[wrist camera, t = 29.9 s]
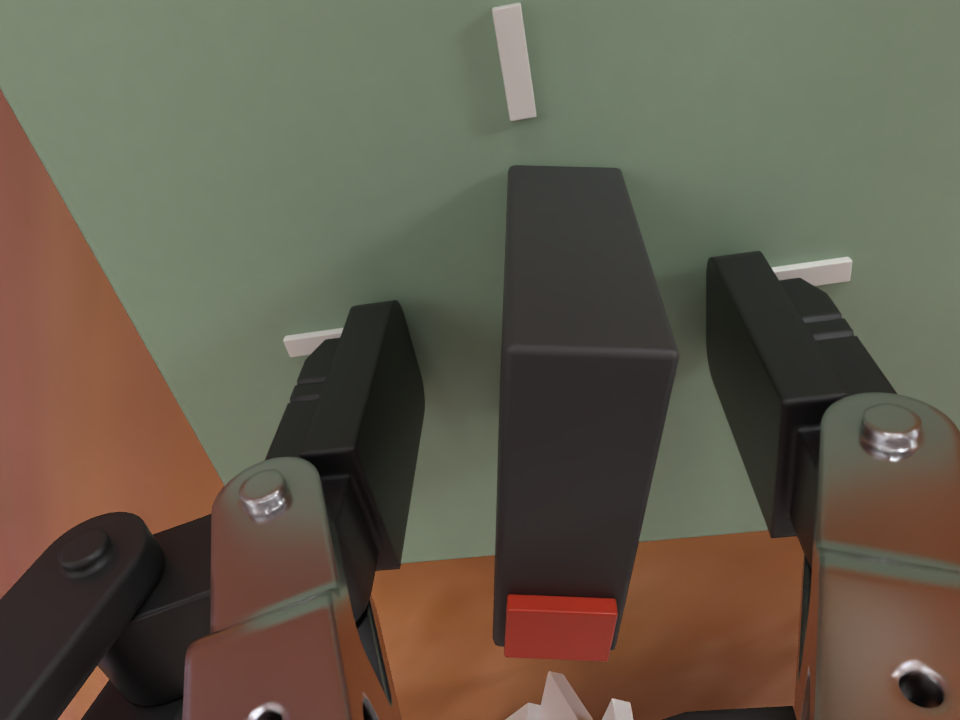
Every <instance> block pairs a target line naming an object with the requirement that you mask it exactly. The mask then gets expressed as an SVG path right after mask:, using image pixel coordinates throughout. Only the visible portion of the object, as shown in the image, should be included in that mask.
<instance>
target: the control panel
mask: <svg viewBox="0 0 960 720" xmlns="http://www.w3.org/2000/svg"><path fill="white" fill-rule="evenodd" d="M0 89H1V91H2V93H3V94H4V96H5V98H6V100H7V101H8V103H9V105H10V107H11V109H12V110H13V112H14V114H15V116H16V117H17V119H18V121H19V123H20V124H21V126H22V128H23V130H24V132H25V133H26V135H27V137H28V139H29V140H30V142H31V144H32V146H33V147H34V149H35V151H36V153H37V155H38V156H39V158H40V160H41V162H42V163H43V165H44V167H45V169H46V170H47V172H48V174H49V176H50V178H51V179H52V181H53V183H54V185H55V186H56V188H57V190H58V192H59V193H60V195H61V197H62V199H63V201H64V202H65V204H66V206H67V208H68V209H69V211H70V213H71V215H72V216H73V218H74V220H75V222H76V223H77V225H78V227H79V229H80V231H81V232H82V234H83V236H84V238H85V239H86V241H87V243H88V245H89V246H90V248H91V250H92V252H93V254H94V255H95V257H96V259H97V261H98V262H99V264H100V266H101V268H102V269H103V271H104V273H105V275H106V277H107V278H108V280H109V282H110V284H111V285H112V287H113V289H114V291H115V292H116V294H117V296H118V298H119V300H120V301H121V303H122V305H123V307H124V308H125V310H126V312H127V314H128V315H129V317H130V319H131V321H132V323H133V324H134V326H135V328H136V330H137V331H138V333H139V335H140V337H141V338H142V340H143V342H144V344H145V346H146V347H147V349H148V351H149V353H150V354H151V356H152V358H153V360H154V361H155V363H156V365H157V367H158V369H159V370H160V372H161V374H162V376H163V377H164V379H165V381H166V383H167V384H168V386H169V388H170V390H171V392H172V393H173V395H174V397H175V399H176V400H177V402H178V404H179V406H180V407H181V409H182V411H183V413H184V415H185V416H186V418H187V420H188V422H189V423H190V425H191V427H192V429H193V430H194V432H195V434H196V436H197V437H198V439H199V441H200V443H201V445H202V446H203V448H204V450H205V452H206V453H207V455H208V457H209V459H210V460H211V462H212V464H213V466H214V468H215V469H216V471H217V473H218V475H219V476H220V478H221V480H222V482H223V483H224V485H226V484H227V483H228V482H229V481H230V480H231V479H232V478H234V477H235V476H236V475H237V474H239V473H240V472H242V471H243V470H245V469H247V468H249V467H250V466H252V465H254V464H257V463H259V462H262V461H265V458H266V456H267V453H268V451H269V448H270V446H271V443H272V441H273V439H274V436H275V434H276V431H277V429H278V426H279V424H280V421H281V419H282V416H283V414H284V411H285V409H286V406H287V404H288V403H290V396H291V394H292V392H293V389H294V387H295V385H297V379H298V377H299V374H300V372H301V369H302V367H303V364H304V362H305V360H306V359H307V358H308V357H309V355H310V354H311V353H312V352H313V351H314V350H315V349H316V348H317V347H318V346H319V345H320V344H321V343H322V342H323V341H324V340H325V339H333V338H340V336H341V334H342V331H343V328H344V325H345V322H346V319H347V317H348V314H349V311H350V309H351V307H352V306H355V305H363V304H370V303H377V302H384V301H392V300H397V301H398V302H399V303H400V305H401V307H402V309H403V312H404V316H405V319H406V323H407V326H408V330H409V333H410V337H411V340H412V344H413V347H414V351H415V354H416V358H417V361H418V365H419V368H420V372H421V376H422V380H423V386H424V394H425V413H424V419H423V426H422V432H421V438H420V445H419V451H418V457H417V464H416V470H415V476H414V483H413V489H412V495H411V502H410V508H409V514H408V521H407V527H406V533H405V540H404V546H403V552H402V559H401V564H403V563H414V562H425V561H436V560H447V559H458V558H469V557H480V556H491V555H495V538H496V502H497V465H498V429H499V399H500V372H501V345H502V318H503V291H504V264H505V237H506V210H507V183H508V170H509V168H510V167H511V166H514V165H527V166H565V167H603V168H618V169H620V170H621V171H622V175H623V178H624V181H625V184H626V187H627V190H628V194H629V197H630V200H631V203H632V206H633V209H634V213H635V216H636V219H637V222H638V225H639V228H640V231H641V235H642V238H643V241H644V244H645V247H646V250H647V254H648V257H649V260H650V263H651V266H652V269H653V273H654V276H655V279H656V282H657V285H658V288H659V292H660V295H661V298H662V301H663V304H664V307H665V311H666V314H667V317H668V320H669V323H670V326H671V329H672V333H673V336H674V339H675V342H676V345H677V348H678V352H679V355H680V356H679V361H678V365H677V370H676V374H675V379H674V383H673V388H672V392H671V397H670V402H669V406H668V411H667V415H666V420H665V424H664V429H663V433H662V438H661V442H660V447H659V452H658V456H657V461H656V465H655V470H654V474H653V479H652V483H651V488H650V493H649V497H648V502H647V506H646V511H645V515H644V520H643V524H642V529H641V533H640V538H639V542H645V541H656V540H667V539H678V538H689V537H700V536H711V535H722V534H733V533H744V532H755V531H766V530H768V528H767V525H766V523H765V520H764V517H763V515H762V512H761V509H760V507H759V504H758V501H757V499H756V496H755V493H754V491H753V488H752V485H751V483H750V480H749V477H748V474H747V472H746V469H745V466H744V464H743V461H742V458H741V456H740V453H739V450H738V448H737V445H736V442H735V440H734V437H733V434H732V432H731V429H730V426H729V424H728V421H727V418H726V416H725V413H724V410H723V408H722V405H721V402H720V400H719V397H718V394H717V392H716V389H715V386H714V384H713V381H712V378H711V374H710V370H709V365H708V359H707V350H706V269H707V262H708V259H709V258H710V257H716V256H723V255H730V254H738V253H745V252H752V251H761V252H762V254H763V255H764V257H765V258H766V260H767V262H768V263H769V265H770V266H771V268H772V270H773V271H774V273H775V275H776V276H777V278H778V280H786V279H793V278H802V279H803V280H805V281H807V282H808V283H810V284H812V285H813V286H815V287H817V288H819V289H820V290H822V291H824V292H825V293H827V294H828V295H829V297H830V298H831V300H832V301H833V303H834V304H835V305H836V307H837V308H838V310H839V311H840V313H841V314H842V319H843V318H845V320H846V321H847V323H848V324H849V325H850V327H851V328H852V330H853V331H854V336H857V337H858V338H859V340H860V341H861V343H862V344H863V345H864V347H865V348H866V350H867V351H868V352H869V354H870V355H871V357H872V358H873V360H874V361H875V362H876V364H877V365H878V367H879V368H880V370H881V371H882V372H883V374H884V375H885V377H886V378H887V380H888V381H889V382H890V384H891V385H892V387H893V388H894V390H895V391H896V392H897V394H899V395H904V396H908V397H912V398H914V399H917V400H920V401H923V402H925V403H927V404H929V405H932V406H933V407H935V408H937V409H938V410H940V411H941V412H943V413H944V414H945V415H947V416H948V417H949V418H950V419H951V420H952V421H953V422H954V423H955V425H956V426H957V428H958V429H959V431H960V0H0Z"/></svg>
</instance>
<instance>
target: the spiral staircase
mask: <svg viewBox="0 0 960 720" xmlns="http://www.w3.org/2000/svg"><path fill="white" fill-rule="evenodd" d="M738 709H739V708H738ZM505 720H593V719H592V717H591V715H590V714H589V712H588V711H587V709H586V708H585V706H584V705H583V703H582V702H581V700H580V699H579V697H578V696H577V694H576V693H575V691H574V690H573V688H572V687H571V685H570V684H569V682H568V681H567V679H566V678H565V676H564V674H561V673H556V672H552V671H548V675H547V679H546V684H545V688H544V693H543V697H542V702H541V705H537V704H533V703H527V704H526V705H524V706H523V707H522V708H520V709H519V710H517V711H516V712H515V713H513V714H512V715H511V716H509V717H508V718H507V719H505ZM602 720H633V714H632V709H631V704H630V702H626V701H622V700H618V699H613V698H612V699H611V701H610V703H609V706H608V708H607V710H606V712H605V714H604V716H603V718H602Z"/></svg>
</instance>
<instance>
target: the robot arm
mask: <svg viewBox="0 0 960 720" xmlns="http://www.w3.org/2000/svg"><path fill="white" fill-rule="evenodd" d="M706 350H707V359H708V365H709V370H710V374H711V378H712V381H713V384H714V386H715V389H716V392H717V394H718V397H719V400H720V402H721V405H722V408H723V410H724V413H725V416H726V418H727V421H728V424H729V426H730V429H731V432H732V434H733V437H734V440H735V442H736V445H737V448H738V450H739V453H740V456H741V458H742V461H743V464H744V466H745V469H746V472H747V474H748V477H749V480H750V483H751V485H752V488H753V491H754V493H755V496H756V499H757V501H758V504H759V507H760V509H761V512H762V515H763V517H764V520H765V523H766V525H767V528H768V531H769V533H770V536H771V538H779V537H790V536H797V537H798V539H799V542H800V544H801V546H802V549H803V551H804V561H803V569H802V580H801V598H800V616H799V634H798V652H797V670H796V688H795V703H794V709H793V706H784V707H766V708H748V709H729V710H711V711H693V712H684V713H681V714H678V715H675V716H672V717H669V718H666V719H663V720H960V431H959V429H958V428H957V426H956V425H955V423H954V422H953V421H952V420H951V419H950V418H949V417H948V416H947V415H945V414H944V413H943V412H941V411H940V410H938V409H937V408H935V407H933V406H932V405H929V404H927V403H925V402H923V401H920V400H917V399H914V398H912V397H908V396H904V395H899V394H897V392H896V391H895V390H894V388H893V387H892V385H891V384H890V382H889V381H888V380H887V378H886V377H885V375H884V374H883V372H882V371H881V370H880V368H879V367H878V365H877V364H876V362H875V361H874V360H873V358H872V357H871V355H870V354H869V352H868V351H867V350H866V348H865V347H864V345H863V344H862V343H861V341H860V340H859V338H858V337H857V336H854V331H853V330H852V328H851V327H850V325H849V324H848V323H847V321H846V320H845V318H843V319H842V314H841V313H840V311H839V310H838V308H837V307H836V305H835V304H834V303H833V301H832V300H831V298H830V297H829V295H828V294H827V293H825V292H824V291H822V290H820V289H819V288H817V287H815V286H813V285H812V284H810V283H808V282H807V281H805V280H803V279H802V278H793V279H786V280H778V278H777V276H776V275H775V273H774V271H773V270H772V268H771V266H770V265H769V263H768V262H767V260H766V258H765V257H764V255H763V254H762V252H761V251H752V252H745V253H738V254H730V255H723V256H716V257H710V258H709V259H708V262H707V269H706ZM424 413H425V394H424V386H423V380H422V376H421V372H420V368H419V365H418V361H417V358H416V354H415V351H414V347H413V344H412V340H411V337H410V333H409V330H408V326H407V323H406V319H405V316H404V312H403V309H402V307H401V305H400V303H399V302H398V301H397V300H392V301H384V302H377V303H370V304H363V305H355V306H352V307H351V309H350V311H349V314H348V317H347V319H346V322H345V325H344V328H343V331H342V334H341V336H340V338H333V339H325V340H324V341H323V342H322V343H321V344H320V345H319V346H318V347H317V348H316V349H315V350H314V351H313V352H312V353H311V354H310V355H309V357H308V358H307V359H306V360H305V362H304V364H303V367H302V369H301V372H300V374H299V377H298V379H297V385H295V387H294V389H293V392H292V394H291V396H290V403H288V404H287V406H286V409H285V411H284V414H283V416H282V419H281V421H280V424H279V426H278V429H277V431H276V434H275V436H274V439H273V441H272V443H271V446H270V448H269V451H268V453H267V456H266V458H265V461H262V462H259V463H257V464H254V465H252V466H250V467H249V468H247V469H245V470H243V471H242V472H240V473H239V474H237V475H236V476H235V477H234V478H232V479H231V480H230V481H229V482H228V483H227V484H226V485H225V486H224V487H223V488H222V490H221V491H220V492H219V494H218V496H217V497H216V499H215V501H214V504H213V507H212V513H211V514H209V515H207V516H204V517H202V518H199V519H196V520H194V521H191V522H188V523H185V524H182V525H179V526H176V527H173V528H171V529H168V530H165V531H162V532H159V533H156V534H153V535H152V533H151V532H150V530H149V529H148V527H147V526H146V524H145V523H144V521H143V520H142V519H141V518H140V517H139V516H137V515H135V514H132V513H127V512H114V513H107V514H103V515H100V516H97V517H94V518H91V519H89V520H87V521H85V522H82V523H80V524H79V525H77V526H75V527H73V528H72V529H70V530H69V531H67V532H66V533H64V534H63V535H62V536H60V537H59V538H58V539H57V540H56V541H54V542H53V543H52V544H51V545H50V546H49V547H48V548H47V549H46V550H45V551H44V553H43V554H42V555H41V556H40V557H39V558H38V559H37V560H36V561H35V562H34V563H33V565H32V566H31V567H30V568H29V569H28V570H27V571H26V572H25V573H24V574H23V575H22V577H21V578H20V579H19V580H18V581H17V582H16V583H15V584H14V585H13V586H12V588H11V589H10V590H9V591H8V592H7V593H6V594H5V595H4V596H3V597H2V598H1V600H0V720H58V718H59V717H60V715H61V714H62V713H63V711H64V710H65V709H66V707H67V706H68V705H69V703H70V702H71V700H72V699H73V698H74V696H75V695H76V694H77V692H78V691H79V690H80V688H81V687H82V686H83V684H84V683H85V681H86V680H87V679H88V677H89V676H90V675H91V673H92V672H93V671H94V669H95V668H96V666H98V667H99V668H100V669H101V670H102V671H103V673H104V674H105V675H106V676H107V677H108V678H109V679H110V680H109V681H108V682H107V684H106V685H105V687H104V688H103V689H102V691H101V692H100V694H99V695H98V696H97V698H96V699H95V701H94V702H93V704H92V705H91V706H90V708H89V709H88V711H87V712H86V713H85V715H84V716H83V718H82V719H81V720H402V718H401V714H400V710H399V706H398V701H397V697H396V693H395V688H394V684H393V679H392V675H391V671H390V666H389V662H388V658H387V653H386V649H385V644H384V640H383V636H382V631H381V627H380V623H379V618H378V614H377V609H376V606H375V603H374V601H373V598H372V596H371V591H372V586H373V581H374V575H375V571H379V570H391V569H400V565H401V559H402V552H403V546H404V540H405V533H406V527H407V521H408V514H409V508H410V502H411V495H412V489H413V483H414V476H415V470H416V464H417V457H418V451H419V445H420V438H421V432H422V426H423V419H424Z"/></svg>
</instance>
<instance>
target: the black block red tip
mask: <svg viewBox="0 0 960 720" xmlns="http://www.w3.org/2000/svg"><path fill="white" fill-rule="evenodd" d="M679 356H680V355H679V352H678V348H677V345H676V342H675V339H674V336H673V333H672V329H671V326H670V323H669V320H668V317H667V314H666V311H665V307H664V304H663V301H662V298H661V295H660V292H659V288H658V285H657V282H656V279H655V276H654V273H653V269H652V266H651V263H650V260H649V257H648V254H647V250H646V247H645V244H644V241H643V238H642V235H641V231H640V228H639V225H638V222H637V219H636V216H635V213H634V209H633V206H632V203H631V200H630V197H629V194H628V190H627V187H626V184H625V181H624V178H623V175H622V171H621V170H620V169H618V168H603V167H565V166H527V165H514V166H511V167H510V168H509V170H508V183H507V210H506V237H505V264H504V291H503V318H502V345H501V372H500V399H499V429H498V465H497V502H496V538H495V575H494V612H493V640H494V643H495V645H498V646H504V655H505V657H513V658H536V659H559V660H582V661H608V658H609V654H610V651H611V650H613V649H615V646H616V643H617V638H618V634H619V629H620V624H621V620H622V615H623V611H624V606H625V602H626V597H627V593H628V588H629V584H630V579H631V574H632V570H633V565H634V561H635V556H636V552H637V547H638V543H639V538H640V533H641V529H642V524H643V520H644V515H645V511H646V506H647V502H648V497H649V493H650V488H651V483H652V479H653V474H654V470H655V465H656V461H657V456H658V452H659V447H660V442H661V438H662V433H663V429H664V424H665V420H666V415H667V411H668V406H669V402H670V397H671V392H672V388H673V383H674V379H675V374H676V370H677V365H678V361H679Z"/></svg>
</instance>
